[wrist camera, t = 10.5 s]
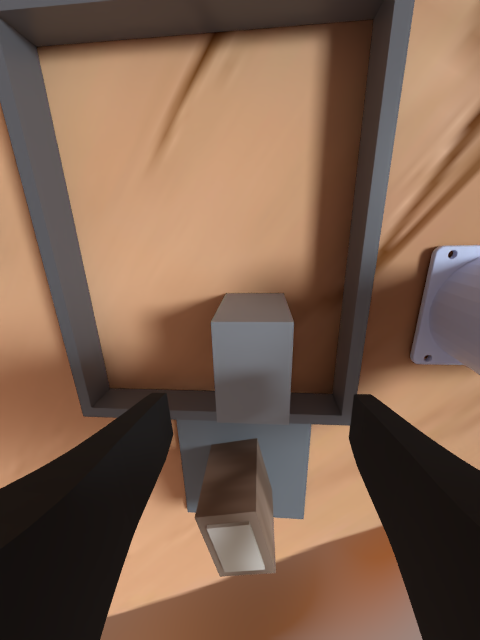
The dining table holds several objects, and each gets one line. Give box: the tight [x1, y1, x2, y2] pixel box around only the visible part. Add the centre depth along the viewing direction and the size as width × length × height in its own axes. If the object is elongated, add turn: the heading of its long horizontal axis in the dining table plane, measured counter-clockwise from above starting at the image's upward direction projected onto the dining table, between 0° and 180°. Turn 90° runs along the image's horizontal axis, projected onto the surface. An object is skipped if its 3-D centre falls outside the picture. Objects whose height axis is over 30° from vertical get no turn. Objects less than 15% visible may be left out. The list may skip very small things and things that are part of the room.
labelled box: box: [195, 438, 276, 577], centre depth 20 cm, size 4×6×6 cm, turn 14°
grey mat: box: [177, 420, 311, 519], centre depth 23 cm, size 11×11×1 cm
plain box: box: [211, 293, 294, 425], centre depth 16 cm, size 4×6×6 cm, turn 1°
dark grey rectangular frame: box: [0, 0, 415, 425], centre depth 16 cm, size 20×24×2 cm
